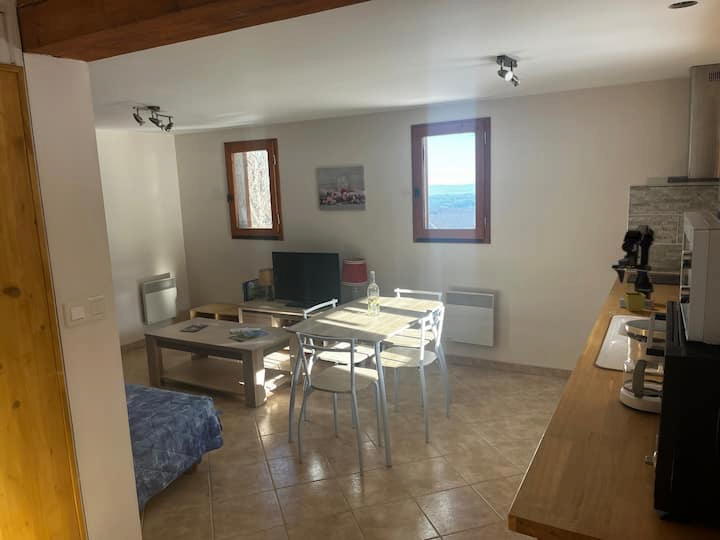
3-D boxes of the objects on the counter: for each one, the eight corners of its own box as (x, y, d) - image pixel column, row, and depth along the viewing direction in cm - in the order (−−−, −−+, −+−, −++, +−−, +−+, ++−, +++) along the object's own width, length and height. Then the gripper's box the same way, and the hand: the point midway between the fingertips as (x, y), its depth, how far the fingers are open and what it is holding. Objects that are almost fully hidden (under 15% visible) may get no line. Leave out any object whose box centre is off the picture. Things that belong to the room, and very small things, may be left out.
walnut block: (645, 307, 291) (646, 299, 291) (653, 308, 287) (654, 300, 287) (640, 308, 289) (640, 300, 288) (648, 309, 285) (648, 301, 284)
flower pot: (645, 312, 279) (646, 295, 277) (627, 312, 280) (627, 295, 279) (640, 308, 287) (640, 292, 286) (622, 308, 289) (623, 292, 288)
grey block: (620, 306, 296) (620, 298, 295) (629, 306, 294) (629, 298, 293) (619, 307, 292) (620, 299, 291) (629, 308, 290) (629, 300, 289)
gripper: (606, 252, 282) (603, 281, 283) (640, 252, 266) (637, 284, 266) (619, 254, 288) (616, 282, 288) (653, 254, 272) (650, 285, 272)
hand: (629, 283), depth 278 cm, fingers open, 9 cm apart
